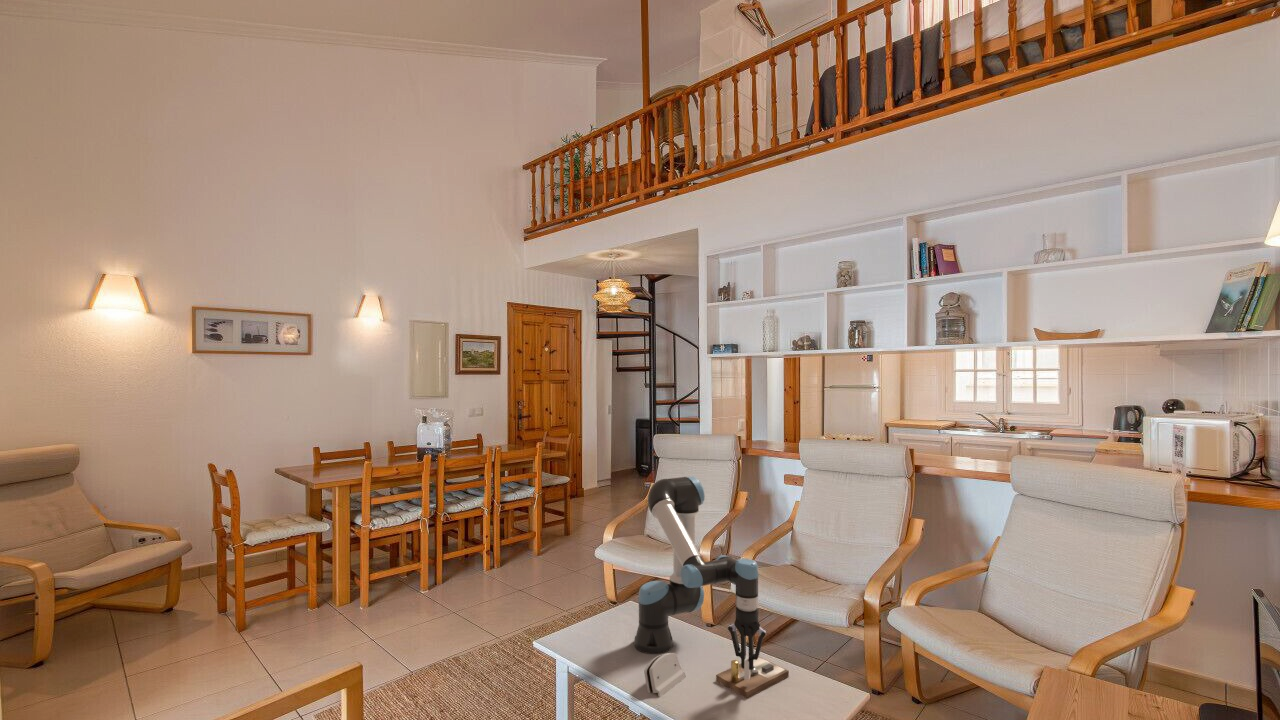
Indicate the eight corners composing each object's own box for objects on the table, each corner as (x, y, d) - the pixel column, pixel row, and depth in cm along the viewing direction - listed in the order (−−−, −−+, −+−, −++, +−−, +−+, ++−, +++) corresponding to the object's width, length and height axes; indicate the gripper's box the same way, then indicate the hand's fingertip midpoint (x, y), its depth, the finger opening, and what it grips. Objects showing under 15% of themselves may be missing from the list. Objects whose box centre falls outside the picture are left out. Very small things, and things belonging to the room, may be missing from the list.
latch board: (716, 680, 200) (716, 670, 201) (757, 661, 214) (757, 651, 214) (747, 698, 189) (746, 687, 190) (788, 676, 203) (788, 666, 203)
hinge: (659, 697, 190) (651, 665, 192) (648, 698, 193) (640, 666, 195) (686, 676, 203) (678, 646, 206) (676, 677, 206) (668, 647, 208)
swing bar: (752, 668, 204) (751, 650, 204) (759, 672, 202) (759, 654, 202) (729, 679, 197) (728, 661, 197) (736, 683, 194) (735, 665, 194)
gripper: (725, 608, 193) (725, 679, 193) (764, 614, 188) (765, 687, 188) (730, 600, 200) (730, 669, 199) (768, 606, 195) (768, 676, 195)
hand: (747, 678), depth 194 cm, fingers closed
